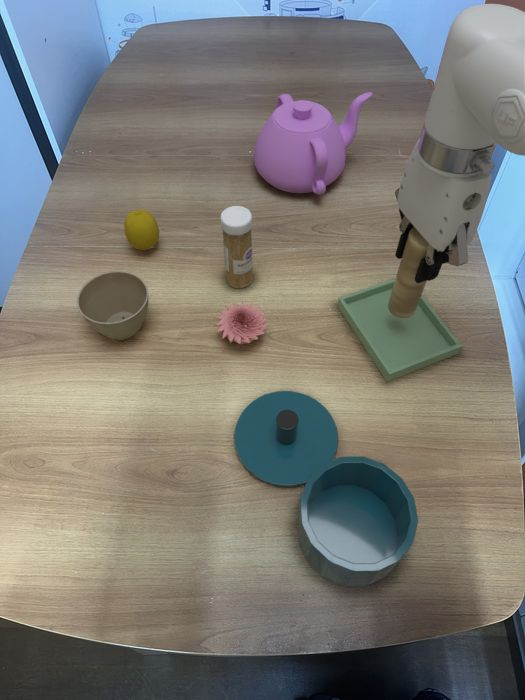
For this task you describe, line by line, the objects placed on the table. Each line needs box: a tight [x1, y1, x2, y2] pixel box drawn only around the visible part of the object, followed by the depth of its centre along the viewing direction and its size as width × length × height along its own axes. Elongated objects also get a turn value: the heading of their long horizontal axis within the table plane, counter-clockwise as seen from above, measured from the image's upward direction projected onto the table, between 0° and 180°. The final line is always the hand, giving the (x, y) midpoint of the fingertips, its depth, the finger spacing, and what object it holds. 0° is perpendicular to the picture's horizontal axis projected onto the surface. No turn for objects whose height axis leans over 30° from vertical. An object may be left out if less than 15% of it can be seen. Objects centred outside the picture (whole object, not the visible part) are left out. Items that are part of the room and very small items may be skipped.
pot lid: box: [234, 390, 339, 487], centre depth 69 cm, size 14×14×6 cm
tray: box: [336, 277, 463, 382], centre depth 81 cm, size 15×12×2 cm
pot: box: [296, 455, 419, 588], centre depth 62 cm, size 13×13×8 cm
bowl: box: [76, 270, 149, 341], centre depth 80 cm, size 10×10×7 cm
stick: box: [388, 227, 438, 318], centre depth 72 cm, size 4×4×14 cm
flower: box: [213, 300, 269, 345], centre depth 79 cm, size 8×8×6 cm
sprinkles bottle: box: [220, 205, 254, 289], centre depth 83 cm, size 5×5×14 cm
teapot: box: [253, 91, 373, 196], centre depth 99 cm, size 22×22×14 cm
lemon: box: [123, 209, 160, 251], centre depth 89 cm, size 6×6×8 cm
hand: (415, 265), depth 71 cm, fingers closed on stick, 4 cm apart
